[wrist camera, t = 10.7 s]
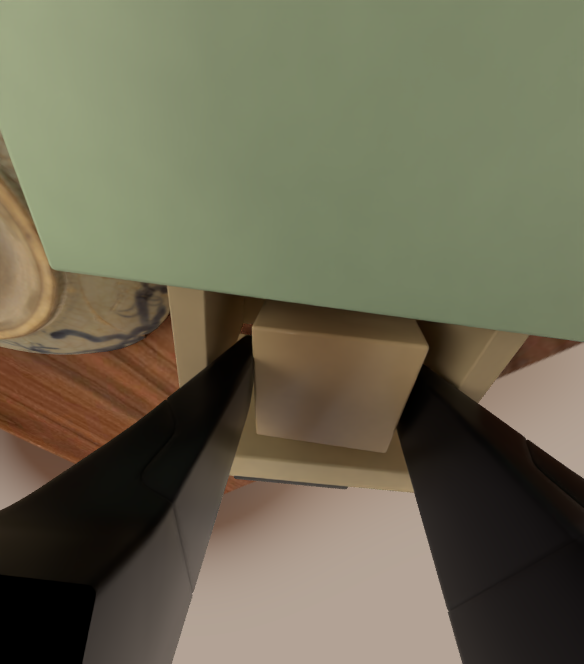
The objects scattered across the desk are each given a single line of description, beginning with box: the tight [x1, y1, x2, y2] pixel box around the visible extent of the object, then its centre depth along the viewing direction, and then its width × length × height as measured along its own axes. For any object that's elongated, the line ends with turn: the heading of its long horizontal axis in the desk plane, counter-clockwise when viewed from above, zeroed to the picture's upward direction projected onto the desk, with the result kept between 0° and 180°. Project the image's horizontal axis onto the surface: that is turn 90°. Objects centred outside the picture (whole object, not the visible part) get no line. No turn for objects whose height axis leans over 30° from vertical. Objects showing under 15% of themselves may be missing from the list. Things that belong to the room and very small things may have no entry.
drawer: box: [167, 286, 529, 493], centre depth 10 cm, size 16×9×7 cm, turn 172°
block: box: [252, 299, 429, 453], centre depth 9 cm, size 4×4×4 cm
